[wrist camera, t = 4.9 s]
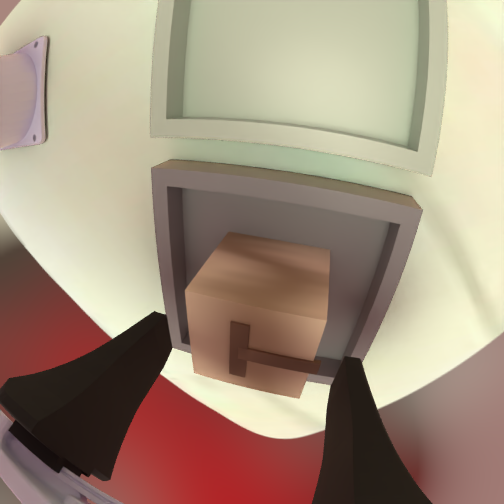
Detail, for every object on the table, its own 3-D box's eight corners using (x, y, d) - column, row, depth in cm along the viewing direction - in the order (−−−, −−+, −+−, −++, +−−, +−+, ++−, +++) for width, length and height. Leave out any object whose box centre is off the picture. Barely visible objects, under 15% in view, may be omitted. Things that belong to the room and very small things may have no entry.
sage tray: (170, 132, 13) (150, 137, 11) (189, -62, 7) (173, -75, 5) (418, 167, 11) (431, 177, 9) (427, -47, 5) (437, -61, 3)
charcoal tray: (182, 329, 19) (171, 347, 18) (170, 159, 13) (151, 167, 12) (349, 365, 17) (348, 387, 16) (411, 196, 11) (423, 210, 10)
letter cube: (226, 308, 17) (193, 374, 12) (228, 231, 14) (183, 291, 10) (316, 326, 16) (305, 401, 11) (336, 250, 13) (335, 324, 9)
